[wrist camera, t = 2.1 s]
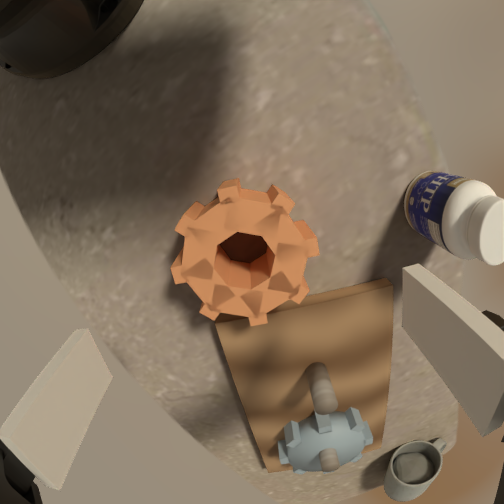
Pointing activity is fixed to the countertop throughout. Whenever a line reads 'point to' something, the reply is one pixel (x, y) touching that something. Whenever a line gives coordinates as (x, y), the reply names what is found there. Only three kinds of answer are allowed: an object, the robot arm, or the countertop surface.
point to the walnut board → (313, 363)
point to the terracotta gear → (241, 273)
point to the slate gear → (324, 439)
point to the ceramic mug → (413, 469)
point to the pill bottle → (457, 215)
